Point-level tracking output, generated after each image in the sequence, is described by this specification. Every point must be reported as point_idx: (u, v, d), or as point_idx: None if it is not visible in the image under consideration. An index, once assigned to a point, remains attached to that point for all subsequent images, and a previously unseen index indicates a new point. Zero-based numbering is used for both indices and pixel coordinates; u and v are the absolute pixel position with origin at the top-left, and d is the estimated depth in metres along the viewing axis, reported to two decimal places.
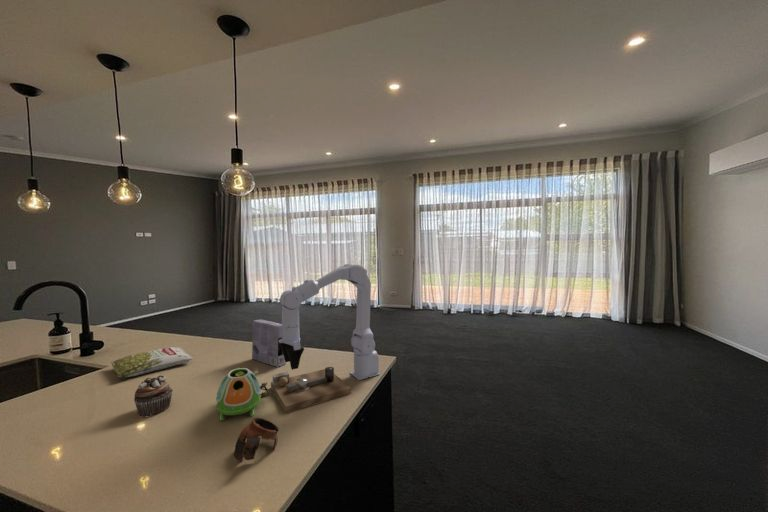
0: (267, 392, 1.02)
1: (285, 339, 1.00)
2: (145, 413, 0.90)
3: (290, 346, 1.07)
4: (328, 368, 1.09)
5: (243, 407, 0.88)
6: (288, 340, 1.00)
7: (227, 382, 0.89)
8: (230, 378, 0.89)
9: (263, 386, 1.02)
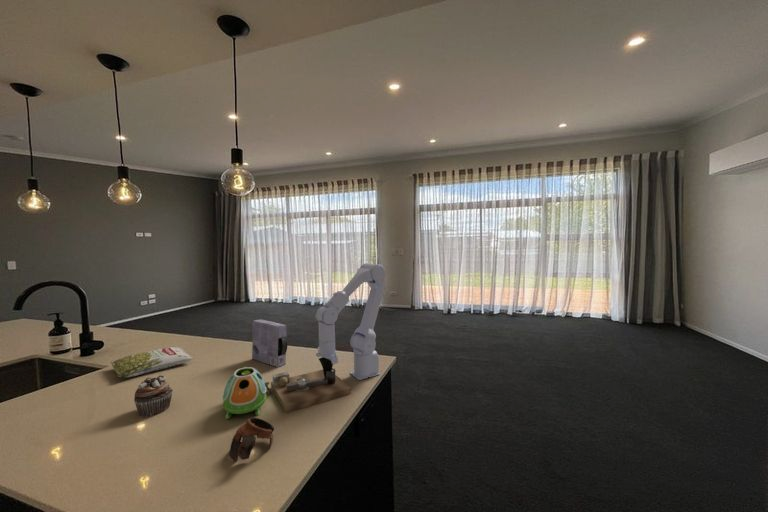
0: (269, 391, 1.03)
1: (322, 353, 1.06)
2: (145, 413, 0.90)
3: (329, 362, 1.09)
4: (330, 370, 1.07)
5: (248, 406, 0.88)
6: (325, 354, 1.06)
7: (233, 381, 0.90)
8: (236, 377, 0.90)
9: (265, 385, 1.02)
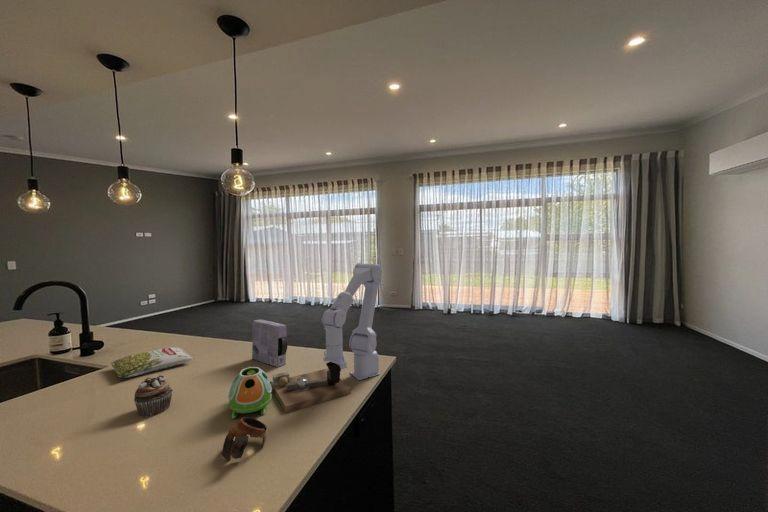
0: None
1: (330, 357, 1.02)
2: (145, 413, 0.90)
3: (337, 367, 1.04)
4: None
5: (254, 405, 0.89)
6: (333, 358, 1.01)
7: (239, 380, 0.90)
8: (242, 376, 0.90)
9: None
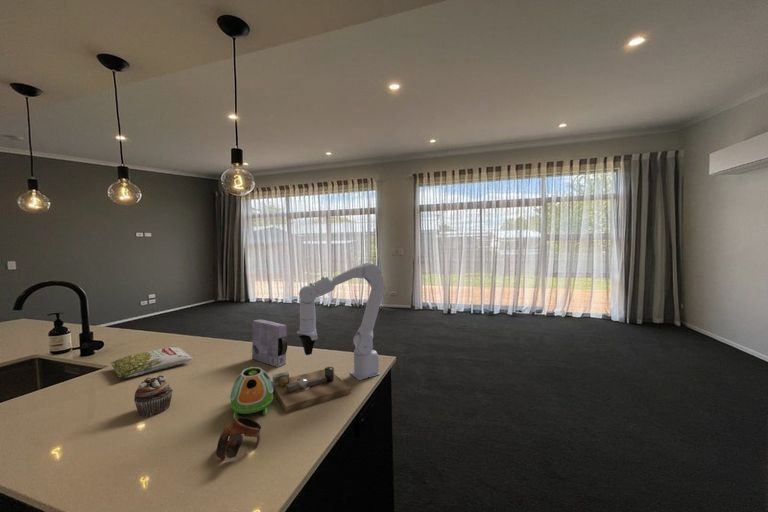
0: None
1: (303, 330, 1.10)
2: (146, 413, 0.90)
3: None
4: (328, 368, 1.09)
5: (256, 406, 0.88)
6: (306, 331, 1.09)
7: (241, 381, 0.90)
8: (243, 377, 0.90)
9: None
